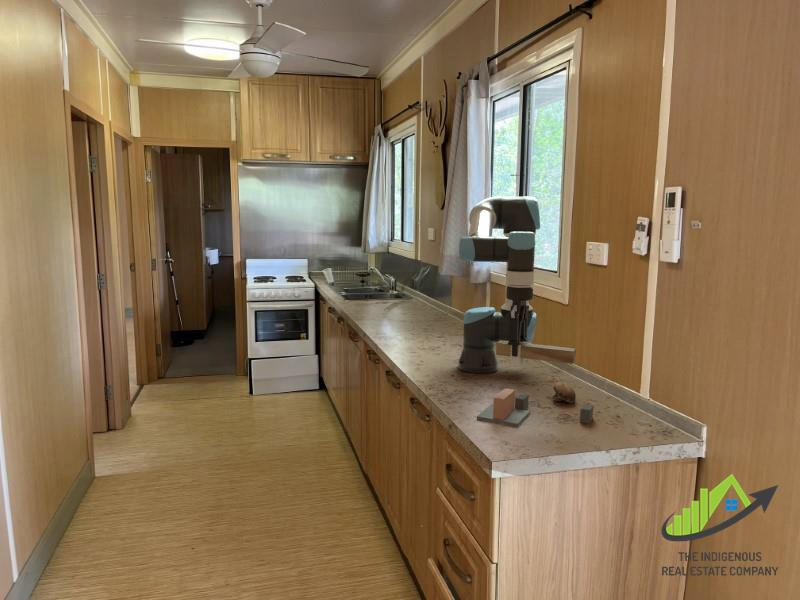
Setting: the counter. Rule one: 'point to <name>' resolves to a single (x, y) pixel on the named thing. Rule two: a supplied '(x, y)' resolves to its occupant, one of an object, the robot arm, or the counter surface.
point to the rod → (539, 352)
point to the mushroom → (564, 392)
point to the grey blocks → (585, 410)
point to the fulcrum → (504, 410)
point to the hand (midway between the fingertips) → (517, 364)
